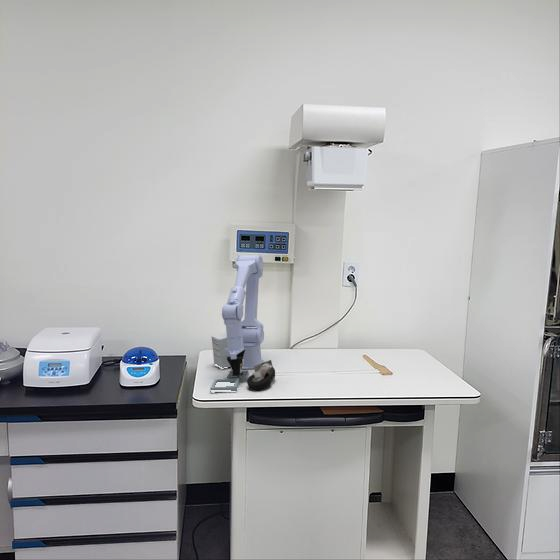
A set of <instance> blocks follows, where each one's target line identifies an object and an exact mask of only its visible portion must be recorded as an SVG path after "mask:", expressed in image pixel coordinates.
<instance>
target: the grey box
mask: <svg viewBox="0 0 560 560" xmlns="http://www.w3.org/2000/svg"><path fill="white" fill-rule="evenodd" d="M211 344H212V345H211V346H212V355H213V364H214V363H215V364H217V365H218V366H220V367H222V368H224V367H231V366H230V364H229V362H228V361H227V357H230V353H229V352H228V351H225V348H228V344H227V333H226V332H224V333H220V334H216V335H211Z"/></svg>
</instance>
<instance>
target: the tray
mask: <svg viewBox="0 0 560 560" xmlns="http://www.w3.org/2000/svg"><path fill="white" fill-rule="evenodd" d="M217 382H230V383H235V384H234V386H226V387H215V385H216V383H217ZM239 383H241V382H240V379H239V378H231V379H227V378H216V379H213V382H212V384H211V386H210V388H209V391H210V390H231V391H237V392H238V390H237V388H238V389H239V387H238V385H239V386H240V384H239Z"/></svg>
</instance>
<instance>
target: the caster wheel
mask: <svg viewBox="0 0 560 560" xmlns="http://www.w3.org/2000/svg"><path fill="white" fill-rule="evenodd" d="M275 378H276V369H275V368H274V365H273V363H272V359H269V360H266V361H264V362H263V363H261V364H258V365H256V366H254V372H253V373H252V374H251V375H249V376H248V379H247V382H246V383H247V387H248V389H249V390H250V391H253V392H261V391H263V390H265V389H267V388H269V387H271V386H273V384H274V383H275V380H276V379H275Z"/></svg>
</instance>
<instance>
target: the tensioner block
mask: <svg viewBox="0 0 560 560" xmlns="http://www.w3.org/2000/svg"><path fill="white" fill-rule="evenodd" d="M241 374H242V375H240V376H234V375H233V372H232V370H230V371H229V372H228V374H227V377H226V379H231V378H239V379H240V381H241V382H240V383H247V379H248V378H249V377H250V375H249V369H244V370H241Z"/></svg>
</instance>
